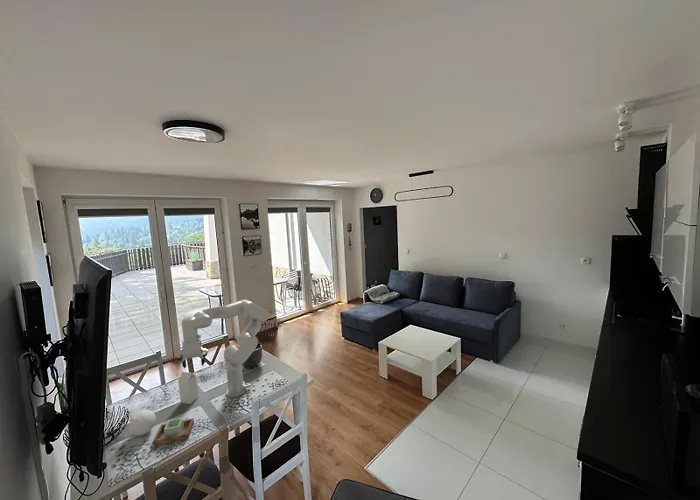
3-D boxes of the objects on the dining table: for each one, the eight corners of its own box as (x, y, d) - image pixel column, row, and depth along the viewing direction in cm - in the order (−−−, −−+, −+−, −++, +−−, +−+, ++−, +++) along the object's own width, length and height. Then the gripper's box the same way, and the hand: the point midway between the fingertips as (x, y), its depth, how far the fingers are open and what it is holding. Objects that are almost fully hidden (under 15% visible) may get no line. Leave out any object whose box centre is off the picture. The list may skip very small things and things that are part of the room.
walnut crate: (194, 423, 162) (193, 418, 162) (188, 439, 151) (187, 433, 150) (162, 429, 158) (161, 424, 158) (153, 446, 147) (152, 441, 146)
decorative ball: (125, 438, 153) (121, 417, 152) (147, 422, 164) (144, 403, 163) (140, 443, 149) (137, 422, 147) (162, 427, 160) (159, 407, 159)
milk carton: (190, 404, 179) (187, 375, 176) (180, 403, 180) (177, 375, 178) (198, 397, 186) (195, 369, 183) (189, 395, 187) (185, 368, 185)
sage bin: (184, 427, 159) (182, 417, 158) (180, 436, 152) (178, 426, 151) (169, 430, 157) (168, 420, 156) (165, 439, 150) (163, 429, 149)
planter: (268, 362, 225) (266, 343, 223) (252, 374, 210) (250, 353, 208) (251, 359, 232) (249, 340, 230) (234, 369, 217) (233, 349, 215)
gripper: (208, 333, 174) (211, 360, 176) (176, 338, 169) (179, 365, 171) (205, 339, 166) (208, 366, 169) (172, 343, 162) (175, 371, 164)
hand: (194, 365), depth 170 cm, fingers open, 9 cm apart
